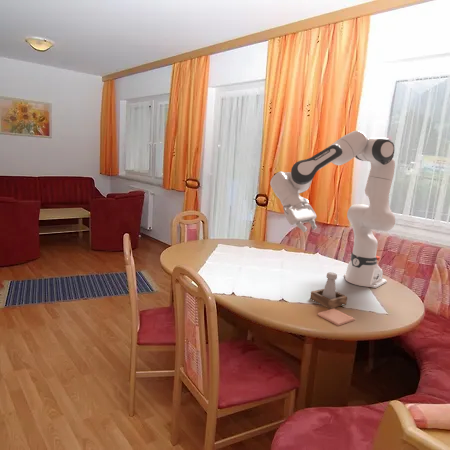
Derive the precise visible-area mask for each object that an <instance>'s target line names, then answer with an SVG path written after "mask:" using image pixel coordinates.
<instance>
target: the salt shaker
mask: <svg viewBox="0 0 450 450" xmlns="http://www.w3.org/2000/svg"><path fill="white" fill-rule="evenodd" d="M337 279H338V275H337V273H335V272H333V271H332V272H327V273H326V282H325V285H324V287H323V289H324V291H323V293H322V296H324V297H327V298H329V299H334V298H336V292H337V291H336V280H337Z"/></svg>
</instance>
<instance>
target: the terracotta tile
mask: <svg viewBox="0 0 450 450" xmlns="http://www.w3.org/2000/svg"><path fill="white" fill-rule="evenodd" d="M317 316H319V317H321V318H322V319H324V320H326V321H328V322H330V323H332V324H334V325H335V326H338V327H339V326H342V325H344V324H345V325H346V324H348V323H351V322H354V321H355V320H356V319H355V317H353V316H351V315H348V314H346V313H345V312H342V311H340V310H338V309H336V308H331V309H328V310H323V311H319V312H317Z"/></svg>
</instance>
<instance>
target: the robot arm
mask: <svg viewBox="0 0 450 450" xmlns="http://www.w3.org/2000/svg"><path fill="white" fill-rule="evenodd" d="M395 149H396V148H395V144H394V142H393V140H391V139H390V138H387V137H370V138H369V137H368V136H367V135H366V134H365V133H364V132H363V131H360V130H353V131H351V132H349V133H347V134H345V135H343V136H341V137H340V138H338V139H337V140H336V141H334V142H333V143H332V144H330V145H329V146H328V147H326V148H324V149H323V150H321V151H319V152H317V153H316V154H314V155H313V156H311V157H309V158H306V159H302V160H298V161H296V162H295V163H294V164H293V165H292V167H291V169H290V170H291V171H287V172H286V171H278V172H276V173H275V174H274V175H273V176H272V177H271V179H270V182H269V183H270V184H269V185H270V188H271V189H272V191H273V193H274V194H275V197H277V198H278V199H279V201H280V203H281V205H282V210H283V214H284V217H285V218H286V220H287V222H288V223H289V224H290V226H295V225H296V226H297V228H299V229H300V230H301V231H302V232H303V233H305V232H308V228H307V226H305V225H304V223H309V224H310V226H311V229H312V230H316V229H318V225H316V221H315V219H317V217H318V216H317V214H316V212H315V210H314V208H313V207H312V205H311V204H310V202H309V200H308V199H307V198H305V197H304V196H301V195H300V194H302V193H305V192H306V191H308V190H309V189H310V187H311V185H312V182H313V179H314V177H315V175H316V174H317V172H318V171H320V170H321V169H322V168H324V167H326V166H328V165H329V164H330V163H332V164H333V165H335V166H342V165H345V164H346V163H348V162H350V161H352V160H353V159H354V158H356V160H359V161H361V162H369V163H370V170H369V174H368V177H367V181H366V185H365V189H364V193H365V195H366V196H367V197H368V200H369V205H367V204H364V203H362V204H361V203H360V204H359V203H355V204H352V205H350V207H349V208H348V209H347V213H346V215H347V216H346V217H347V220H348V222H349V223H350V224H351V227H352V230H353V236H354V237H353V238H354V239H353V248H352V253H350V254H351V255H350V260H349V262H348V264H347V267H346V268H347V269H346V271H345V273H343V277H344V279H345V281H346V282H348V283H350V284H353V285H355V286H360V287H368V288H373V289H377V288H378V287H380V286H382V285H384V284H386V283H387V279H386V278H383V274H384V271H383V269H382V268H381V267H380V266H379V264H378V262H380V260H381V256H378V255H377V251H378V247H379V242H378V239H377V238H376V236H374V232H373V231H377V232H390V231H391V230H392V229H393V228H394V226H395V225H396V216H395V214H394V213H393V210H391V205H390V200H389V199H390V192H391V187H392V184H393V180H394V175H395V167H396V165H395V164H396V162H395V159H394V156H395Z"/></svg>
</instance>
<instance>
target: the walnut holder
mask: <svg viewBox="0 0 450 450" xmlns="http://www.w3.org/2000/svg"><path fill="white" fill-rule="evenodd" d="M323 291H324V288H320V289H317V290H313V291H311V292H310V297H309V300H311V299H312V300H311V301H313V300H314V301H313V302H315V301H316V302H315V303H317V302H318V303H317V304H319V303H320V304H319V305H321V306H323V307H324V308H327V309H328V310H330V309H336V308H338V307H341V305H342V304H345V305H347V302H348V296H347V295H345V294H342V293H340V292H337V291H336V298H334V299H329V298H327V297H324V296H322V293H323ZM342 306H343V305H342Z"/></svg>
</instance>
